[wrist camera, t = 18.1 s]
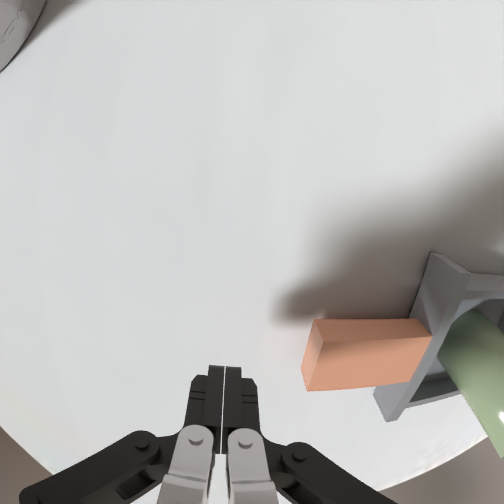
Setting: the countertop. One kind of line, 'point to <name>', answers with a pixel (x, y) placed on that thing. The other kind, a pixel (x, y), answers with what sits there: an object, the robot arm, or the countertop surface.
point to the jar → (478, 369)
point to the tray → (438, 318)
